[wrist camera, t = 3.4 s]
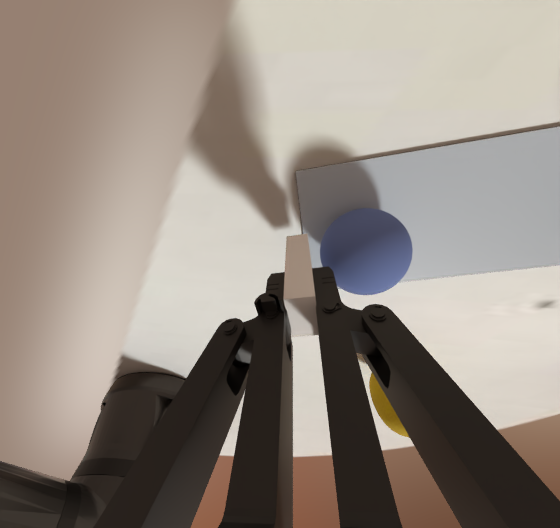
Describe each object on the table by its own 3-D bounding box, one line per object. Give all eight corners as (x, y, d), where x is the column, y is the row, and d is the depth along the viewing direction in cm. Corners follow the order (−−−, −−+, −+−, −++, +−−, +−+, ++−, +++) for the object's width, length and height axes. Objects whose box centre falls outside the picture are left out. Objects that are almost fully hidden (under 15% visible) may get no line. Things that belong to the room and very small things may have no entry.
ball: (318, 268, 20) (328, 317, 15) (312, 203, 17) (322, 239, 12) (387, 259, 19) (422, 308, 14) (395, 190, 16) (443, 223, 11)
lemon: (352, 362, 28) (372, 440, 21) (390, 340, 25) (426, 420, 19) (380, 379, 29) (407, 455, 23) (417, 360, 27) (460, 439, 20)
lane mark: (310, 290, 22) (310, 291, 21) (295, 171, 16) (295, 171, 16) (664, 252, 18) (668, 253, 18) (814, 82, 12) (821, 81, 12)
